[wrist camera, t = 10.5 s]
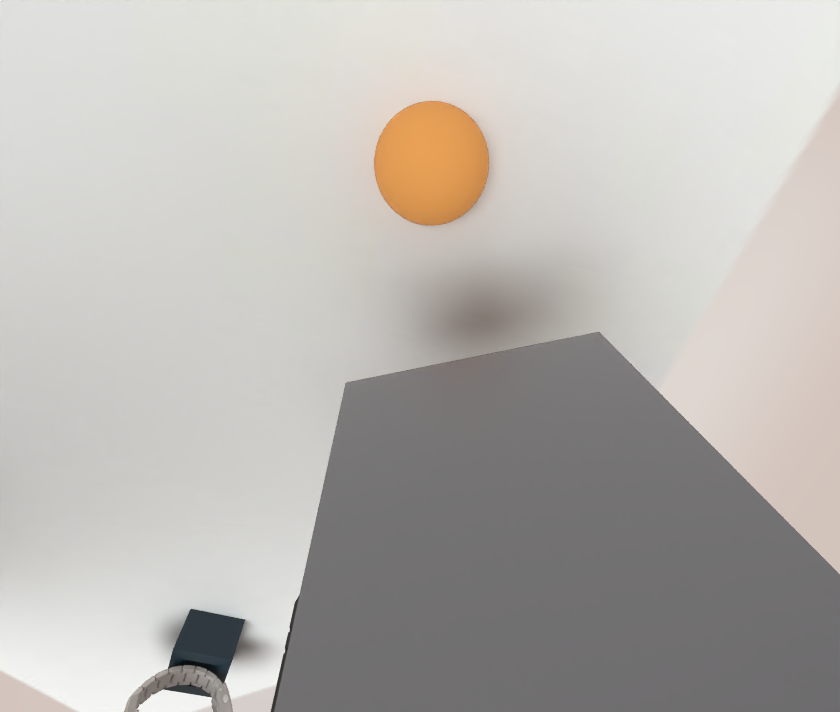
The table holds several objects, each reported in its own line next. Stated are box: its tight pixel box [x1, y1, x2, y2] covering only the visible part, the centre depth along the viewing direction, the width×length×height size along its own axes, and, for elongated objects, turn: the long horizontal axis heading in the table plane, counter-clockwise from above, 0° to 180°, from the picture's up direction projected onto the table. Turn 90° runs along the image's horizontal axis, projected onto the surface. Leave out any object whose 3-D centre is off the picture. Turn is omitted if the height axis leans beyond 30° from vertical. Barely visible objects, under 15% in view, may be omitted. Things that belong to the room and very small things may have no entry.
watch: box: [124, 609, 245, 712], centre depth 33 cm, size 6×8×11 cm
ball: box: [374, 101, 489, 225], centre depth 20 cm, size 5×5×5 cm
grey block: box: [274, 332, 840, 712], centre depth 10 cm, size 7×7×9 cm
